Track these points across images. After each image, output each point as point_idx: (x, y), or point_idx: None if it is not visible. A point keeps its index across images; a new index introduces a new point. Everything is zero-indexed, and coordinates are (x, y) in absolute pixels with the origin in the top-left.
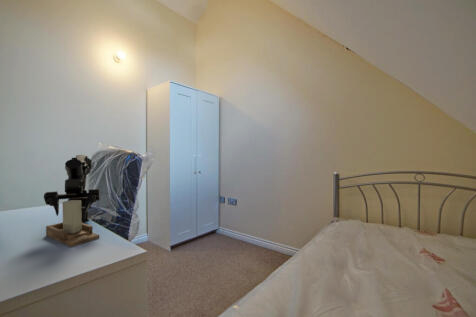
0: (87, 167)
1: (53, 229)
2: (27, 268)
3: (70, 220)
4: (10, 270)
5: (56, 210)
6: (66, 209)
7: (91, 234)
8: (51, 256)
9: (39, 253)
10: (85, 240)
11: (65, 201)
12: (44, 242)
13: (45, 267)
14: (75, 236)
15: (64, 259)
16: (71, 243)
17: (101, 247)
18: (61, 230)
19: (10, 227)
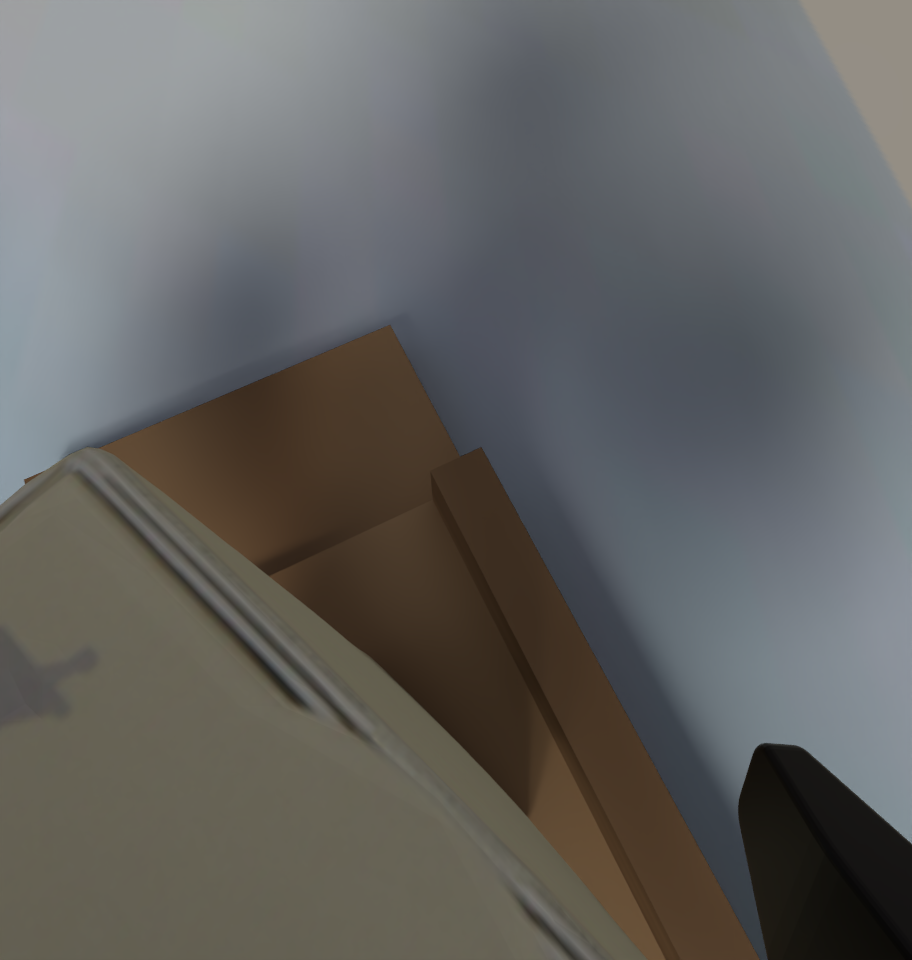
0: None
1: (715, 880)
2: (686, 53)
3: (380, 670)
4: (806, 80)
5: (898, 875)
6: (490, 793)
7: None
8: (551, 193)
9: (690, 335)
10: (223, 406)
11: None
12: (750, 744)
13: (553, 5)
14: (334, 550)
15: (430, 72)
16: (382, 332)
17: (100, 166)
18: (547, 679)
19: None
